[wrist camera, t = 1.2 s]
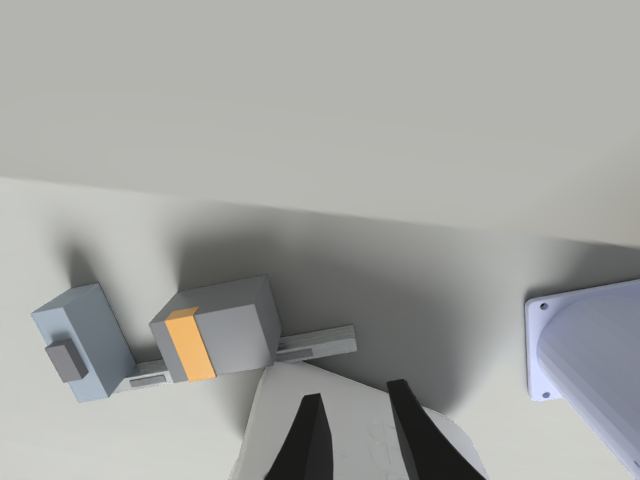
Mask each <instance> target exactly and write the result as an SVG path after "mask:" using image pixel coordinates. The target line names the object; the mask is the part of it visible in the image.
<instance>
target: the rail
mask: <svg viewBox="0 0 640 480" xmlns="http://www.w3.org/2000/svg"><path fill="white" fill-rule="evenodd" d="M354 351H357V345H356V337H355V333H354V328H353V325H347V326H342V327H336V328H331V329H325V330H320V331H314V332H308V333H303V334H297V335H292V336H286V337H281V338H280V339H279V343H278V348H277V352H276V357H275V361H277V362H283V363H291V362H297V361H302V360H308V359H314V358H320V357H325V356H331V355H337V354H343V353H348V352H354ZM170 383H174V382H173V380H172V378H171V375H170V373H169V371H168V368H167V366H166V364H165V361H164V359H159V360H154V361H148V362H143V363H137V364H135V366H134V367H133V368H132V369H131V371H130V372H129V373H128V374H127V375H126V377H125V378H124V379H123V380H122V382H121V383H120V384H119V385H118V387H117V388H116V389H115V390H114V392H113V393H119V392H124V391H130V390H136V389H142V388H147V387H153V386H159V385H165V384H170ZM113 393H112V394H113Z"/></svg>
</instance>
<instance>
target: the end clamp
mask: <svg viewBox="0 0 640 480" xmlns="http://www.w3.org/2000/svg"><path fill="white" fill-rule="evenodd" d="M31 316H32V318H33V320H34V322H35V323H36V325H37V327H38V329H39V331H40V333H41V334H42V336H43V338H44V340H45V342H46V344H47V345H48V346H47V347H46V348H45V350H46V352H47V354H48V356H49V357H50V359H51V361H52V363H53V365H54V367H55V368H56V370H57V372H58V374H59V376H60V378H61V379H62V381H63V383H65V382H68V384H69V386H70V388H71V390H72V391H73V393H74V395H75V397H76V399H77V401H78V402H79V403H81V402H87V401H93V400H98V399H104V398H109V397H110V395H111V394H112V393H113V392H114V390H115V389H116V388H117V387H118V385H119V384H120V383H121V382H122V380H123V379H124V378H125V377H126V375H127V374H128V373H129V372H130V371H131V369H132V368H133V367H134V366H135V364H136V363H135V360H134V358H133V356H132V354H131V352H130V350H129V347H128V345H127V343H126V341H125V339H124V337H123V334H122V332H121V330H120V328H119V326H118V323H117V321H116V319H115V317H114V315H113V313H112V310H111V308H110V306H109V304H108V302H107V300H106V297H105V295H104V293H103V291H102V289H101V286H100V284H99V283H95V284H90V285H85V286H80V287H75V288H70V289H69V290H67V291H66V292H64V293H63V294H61V295H59V296H58V297H56V298H55V299H53V300H51V301H50V302H48V303H47V304H45V305H43V306H42V307H40V308H39V309H37V310H35V311H34V312H32V313H31Z"/></svg>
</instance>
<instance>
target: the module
mask: <svg viewBox="0 0 640 480" xmlns="http://www.w3.org/2000/svg"><path fill="white" fill-rule="evenodd" d="M149 326H150V329H151V331H152V333H153V336H154V338H155V340H156V343H157V345H158V347H159V350H160V352H161V354H162V357H163V359H164V361H165V364H166V366H167V368H168V371H169V373H170V375H171V378H172V380H173V382H174V383H177V382H182V381H188V380H189V382H193V381H199V380H205V379H211V378H216V377H217V375H223V374H229V373H234V372H240V371H246V370H252V369H257V368H263V367H269V366H274V361H275V357H276V352H277V348H278V343H279V339H280V335H281V330H282V326H281V322H280V319H279V315H278V312H277V309H276V305H275V302H274V298H273V295H272V291H271V288H270V285H269V281H268V278H267V274H265V275H260V276H255V277H249V278H244V279H239V280H234V281H229V282H224V283H219V284H214V285H209V286H204V287H199V288H194V289H189V290H184V291H179V292H177V293H176V294H175V295H174V297H173V298H172V299H171V300H170V301H169V302H168V303H167V304H166V305H165V306H164V308H163V309H162V310H161V311H160V312H159V313H158V314H157V315H156V316H155V317H154V319H153V320H152V321H151V322H150V323H149Z"/></svg>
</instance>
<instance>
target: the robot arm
mask: <svg viewBox="0 0 640 480" xmlns="http://www.w3.org/2000/svg"><path fill="white" fill-rule="evenodd" d="M542 303H545V304H544V306H542V307H540V305H541V304H542ZM525 321H526V346H527V370H528V394H529V396H530V398H531V399H532V400H533V401H545V400H551V399H558V398H564V399H565V400H566V401H567V402H568V403H569V404H570V406H571V407H572V408H573V409H574V410H575V411H576V412H577V414H578V415H579V416H580V417H581V418H582V419H583V420H584V422H585V423H586V424H587V425H588V426H589V427H590V428H591V430H592V431H593V432H594V433H595V434H596V435H597V436H598V438H599V439H600V440H601V441H602V442H603V443H604V444H605V445H606V447H607V448H608V449H609V450H610V451H611V452H612V453H613V455H614V456H615V457H616V458H617V459H618V460H619V461H620V463H621V464H622V465H623V466H624V467H625V468H626V469H627V471H628V472H629V473H630V474H631V475H632V476H633V477H634V479H635V480H640V279H638V280H632V281H627V282H621V283H615V284H610V285H604V286H599V287H593V288H588V289H582V290H576V291H571V292H565V293H560V294H554V295H549V296H543V297H537V298H532V299H530V300H528V301H527V302H526V304H525ZM387 387H388V392H389V397H390V403H391V408H392V413H393V418H394V423H395V428H396V432H397V437H398V441H399V446H400V450H401V455H402V458H403V461H404V464H405V468H406V471H407V474H408V477H409V480H486V479H485V478H484V477H483V476H482V475H481V474H480V473H479V472H478V471H477V470H476V469H475V468H474V467H473V466H472V465H471V464H470V463H469V462H468V461H467V460H466V459H465V458H464V457H463V456H462V455H461V454H460V453H459V452H458V451H457V450H456V449H455V447H454V446H453V445H452V444H451V443H450V442H449V441H448V439H447V438H446V437H445V436H444V435H443V434H442V432H441V431H440V430H439V429H438V428H437V426H436V425H435V424H434V422H433V421H432V420H431V419H430V417H429V416H428V415H427V413H426V412H425V411H424V409H423V408H422V406H421V405H420V403H419V402H418V400H417V399H416V397H415V396H414V394H413V393H412V391H411V389H410V387H409V385H408V383H407V381H405V380H404V379H401V380H395V381H389V382H387ZM545 392H546V393H545ZM543 393H544V394H543ZM333 470H334V462H333V446H332V434H331V430H330V427H329V423H328V419H327V416H326V412H325V408H324V404H323V401H322V397H321V393H316V394H310V395H304V397H303V398H302V400H301V403H300V406H299V409H298V411H297V414H296V416H295V419H294V421H293V423H292V426H291V428H290V430H289V432H288V434H287V437H286V439H285V441H284V443H283V445H282V447H281V449H280V451H279V453H278V455H277V457H276V459H275V461H274V463H273V464H272V466H271V468H270V470H269V472H268V474H267V475H266V477H265V479H264V480H333Z"/></svg>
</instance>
